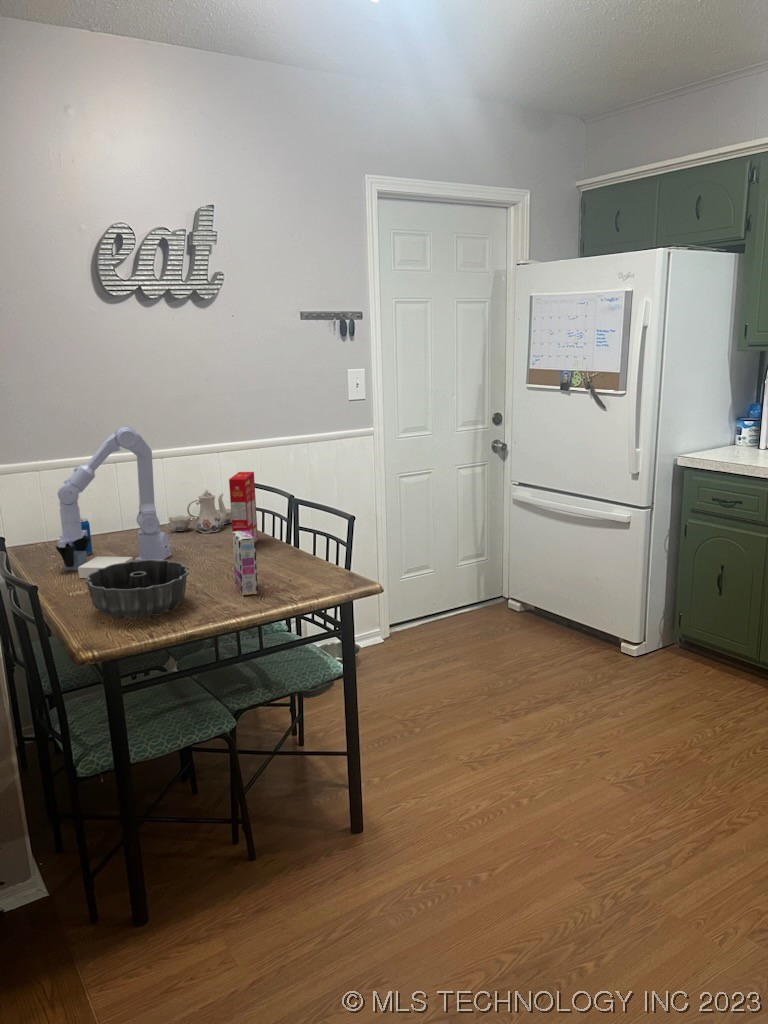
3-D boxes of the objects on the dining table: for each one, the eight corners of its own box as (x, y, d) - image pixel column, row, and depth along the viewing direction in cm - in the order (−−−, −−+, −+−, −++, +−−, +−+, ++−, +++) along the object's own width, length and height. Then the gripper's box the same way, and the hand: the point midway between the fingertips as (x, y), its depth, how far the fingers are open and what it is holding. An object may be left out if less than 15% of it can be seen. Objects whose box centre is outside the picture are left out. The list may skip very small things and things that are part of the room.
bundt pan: (211, 605, 204) (208, 570, 201) (122, 634, 185) (118, 595, 182) (158, 586, 221) (155, 553, 219) (71, 611, 202) (67, 575, 200)
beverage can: (96, 552, 259) (92, 518, 257) (86, 557, 253) (83, 522, 250) (78, 551, 260) (74, 518, 257) (68, 557, 254) (64, 522, 251)
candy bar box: (259, 594, 212) (256, 538, 208) (241, 596, 210) (237, 540, 207) (251, 583, 222) (248, 529, 219) (234, 585, 220) (231, 531, 217)
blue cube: (87, 565, 243) (85, 551, 242) (79, 570, 239) (77, 555, 237) (73, 565, 244) (71, 550, 243) (64, 570, 239) (63, 555, 238)
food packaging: (243, 540, 271) (239, 471, 265) (257, 540, 271) (253, 471, 265) (233, 551, 257) (229, 479, 251) (249, 551, 256) (244, 479, 251)
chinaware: (229, 524, 304) (224, 483, 301) (249, 526, 291) (245, 484, 288) (163, 536, 286) (157, 493, 284) (182, 539, 273) (176, 494, 271)
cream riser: (134, 569, 240) (132, 557, 239) (116, 580, 228) (115, 568, 227) (98, 568, 241) (97, 556, 241) (79, 579, 230) (77, 567, 229)
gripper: (71, 516, 245) (75, 556, 248) (46, 527, 231) (51, 569, 234) (91, 517, 245) (95, 557, 248) (68, 527, 231) (72, 570, 234)
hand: (75, 563), depth 241 cm, fingers open, 7 cm apart
